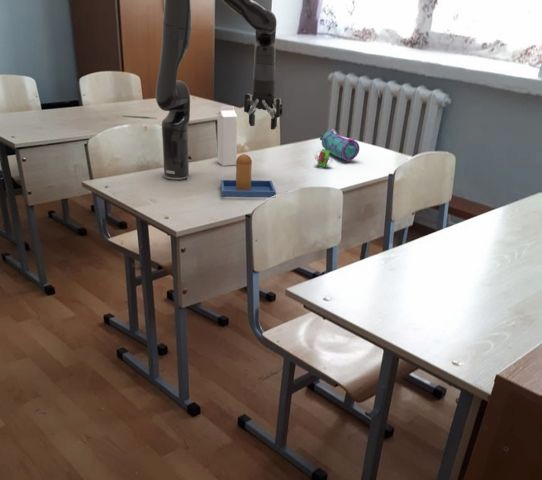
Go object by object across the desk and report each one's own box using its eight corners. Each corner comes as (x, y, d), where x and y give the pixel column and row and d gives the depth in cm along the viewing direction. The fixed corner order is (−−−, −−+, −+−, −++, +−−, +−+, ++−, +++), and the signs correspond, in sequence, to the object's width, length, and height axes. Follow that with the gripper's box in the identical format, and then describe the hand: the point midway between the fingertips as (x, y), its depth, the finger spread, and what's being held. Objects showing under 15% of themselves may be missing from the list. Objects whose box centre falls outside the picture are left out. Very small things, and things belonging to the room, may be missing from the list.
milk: (217, 162, 244) (216, 105, 232) (230, 160, 246) (231, 104, 235) (223, 166, 240) (222, 108, 228) (236, 164, 242) (237, 107, 230)
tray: (220, 187, 217) (220, 179, 215) (271, 188, 219) (271, 180, 217) (222, 198, 206) (222, 190, 205) (275, 199, 208) (275, 191, 207)
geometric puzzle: (325, 156, 251) (319, 142, 245) (337, 160, 247) (332, 146, 241) (315, 169, 250) (309, 155, 243) (328, 173, 246) (322, 159, 240)
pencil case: (318, 150, 268) (320, 128, 263) (335, 149, 271) (337, 127, 266) (341, 163, 252) (344, 139, 247) (359, 161, 255) (362, 138, 250)
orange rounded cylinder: (235, 188, 214) (235, 152, 207) (250, 188, 215) (251, 152, 208) (236, 192, 210) (236, 156, 203) (251, 193, 210) (252, 156, 204)
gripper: (287, 79, 202) (285, 128, 210) (251, 74, 207) (250, 122, 216) (276, 81, 196) (274, 132, 205) (240, 76, 202) (239, 126, 210)
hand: (262, 127), depth 210 cm, fingers open, 8 cm apart
